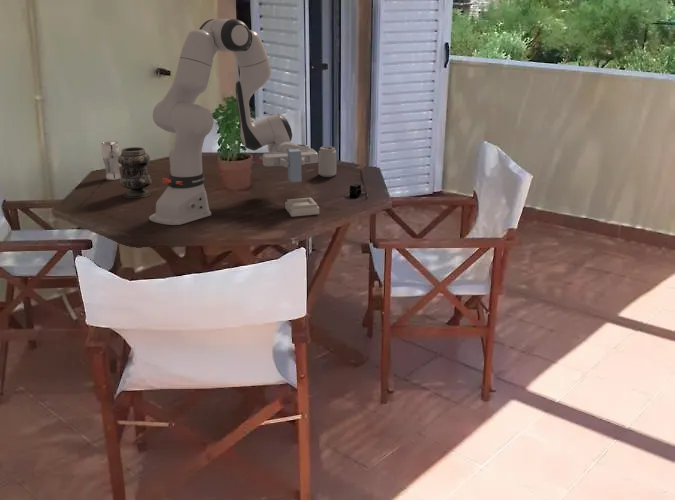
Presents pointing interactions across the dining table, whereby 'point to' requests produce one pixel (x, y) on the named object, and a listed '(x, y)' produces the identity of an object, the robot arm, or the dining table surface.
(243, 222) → the dining table surface
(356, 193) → the black box
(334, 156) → the can
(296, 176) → the pillar
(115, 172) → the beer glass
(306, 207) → the footing
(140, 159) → the apothecary jar
